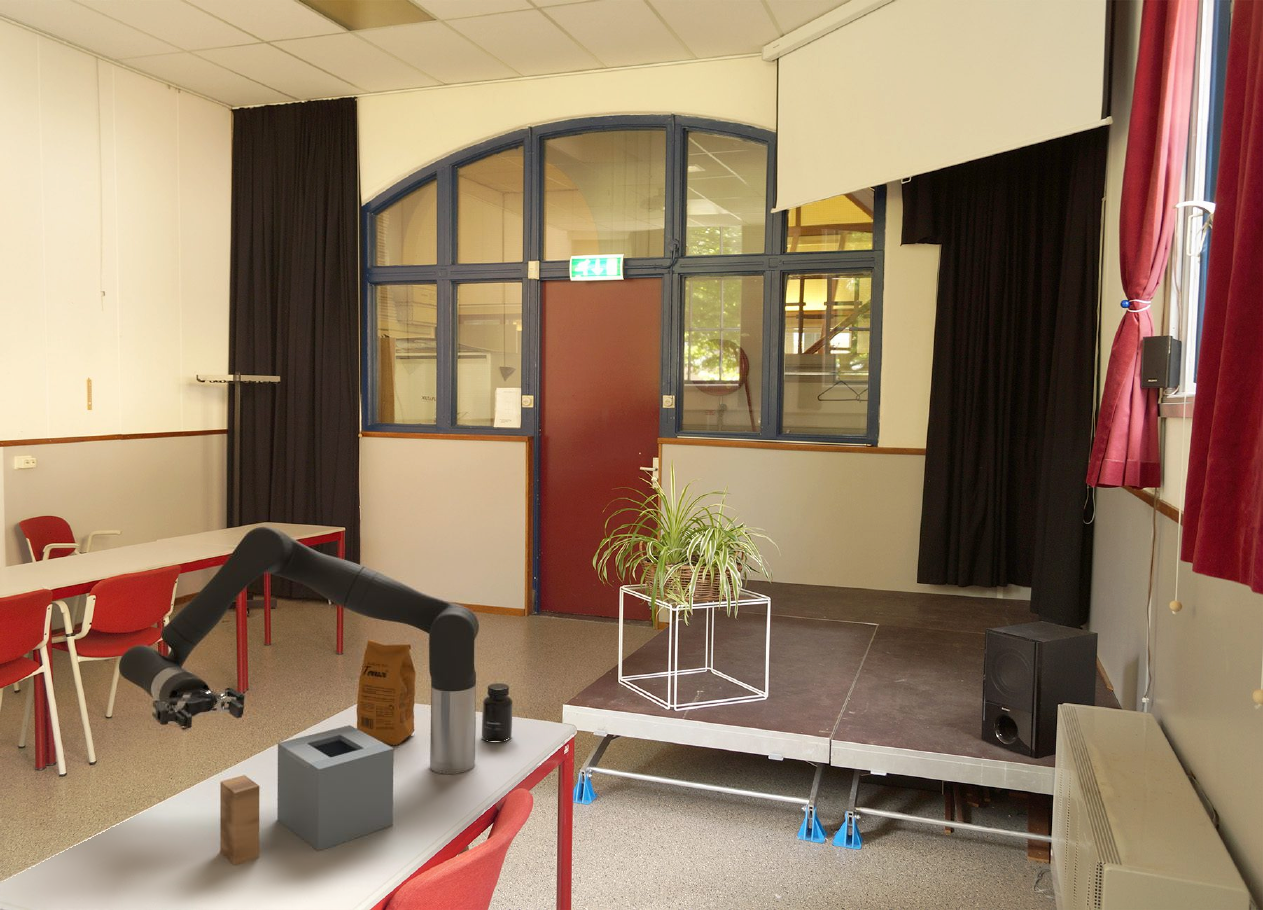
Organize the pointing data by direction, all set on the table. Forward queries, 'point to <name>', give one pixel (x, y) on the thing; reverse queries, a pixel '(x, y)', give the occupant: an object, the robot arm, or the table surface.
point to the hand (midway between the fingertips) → (215, 717)
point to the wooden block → (239, 819)
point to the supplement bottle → (497, 713)
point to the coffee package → (386, 693)
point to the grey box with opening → (335, 786)
